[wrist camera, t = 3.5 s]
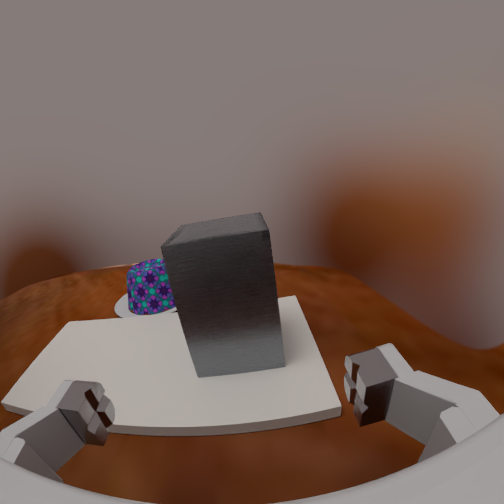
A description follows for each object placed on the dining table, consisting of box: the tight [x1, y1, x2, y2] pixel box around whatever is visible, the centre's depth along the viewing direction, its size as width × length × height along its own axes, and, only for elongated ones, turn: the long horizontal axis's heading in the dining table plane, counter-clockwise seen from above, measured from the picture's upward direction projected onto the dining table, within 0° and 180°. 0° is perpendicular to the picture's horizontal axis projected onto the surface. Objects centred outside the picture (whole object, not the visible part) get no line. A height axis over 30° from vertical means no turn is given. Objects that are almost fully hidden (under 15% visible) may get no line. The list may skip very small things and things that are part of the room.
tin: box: [161, 213, 286, 378], centre depth 21 cm, size 6×6×10 cm
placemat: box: [1, 296, 341, 436], centre depth 22 cm, size 28×16×1 cm, turn 93°
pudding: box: [115, 259, 177, 318], centre depth 36 cm, size 12×12×5 cm
